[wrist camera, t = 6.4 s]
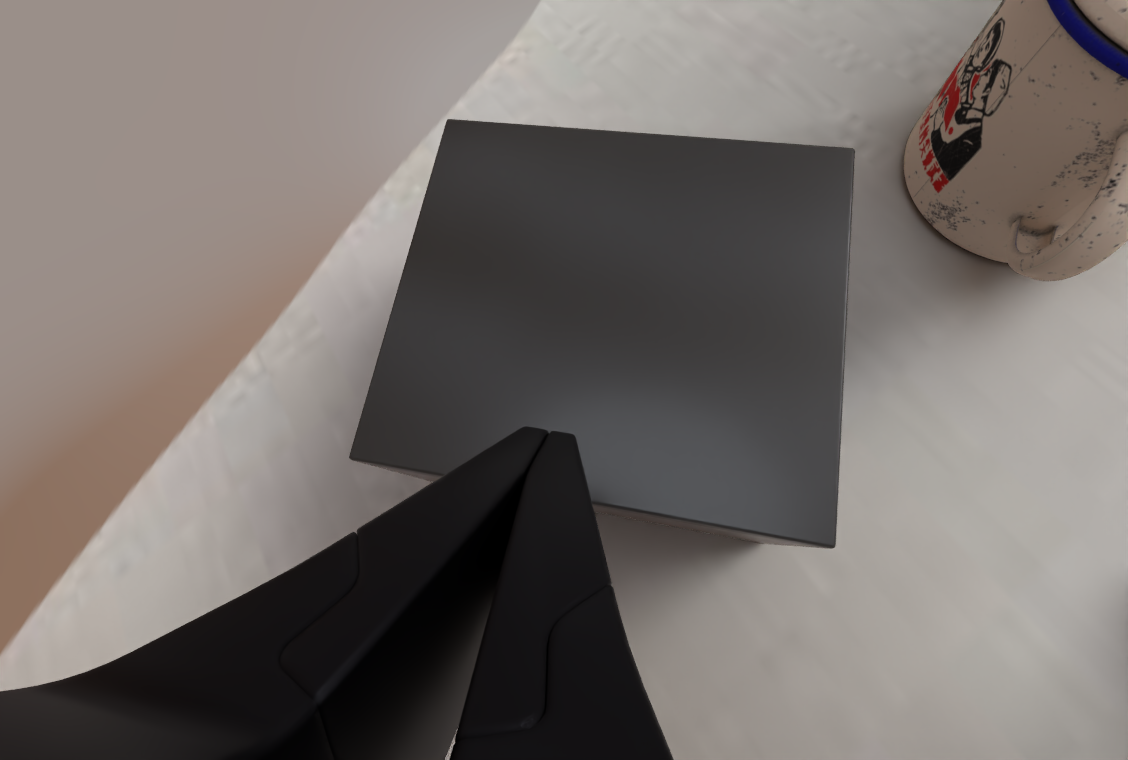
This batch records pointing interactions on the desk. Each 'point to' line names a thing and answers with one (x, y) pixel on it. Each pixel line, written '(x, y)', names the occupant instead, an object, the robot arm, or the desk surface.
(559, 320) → the dark grey flat tile
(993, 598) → the desk surface
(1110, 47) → the teacup with lid
